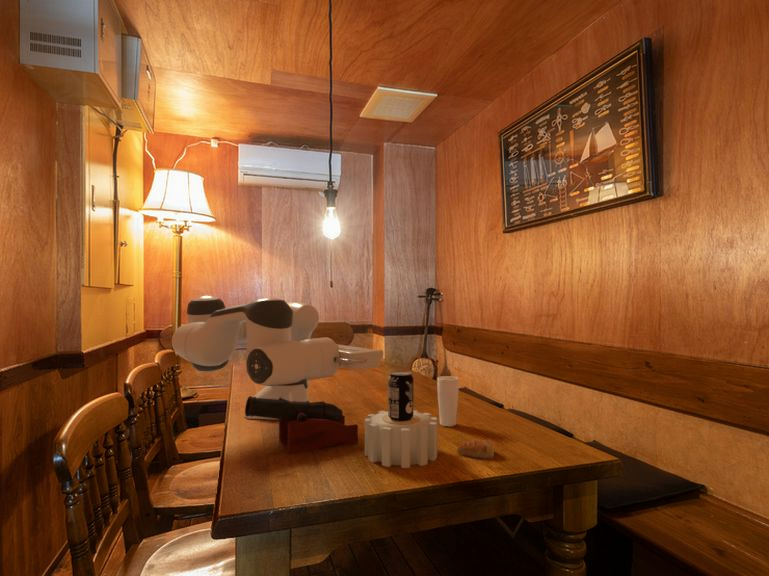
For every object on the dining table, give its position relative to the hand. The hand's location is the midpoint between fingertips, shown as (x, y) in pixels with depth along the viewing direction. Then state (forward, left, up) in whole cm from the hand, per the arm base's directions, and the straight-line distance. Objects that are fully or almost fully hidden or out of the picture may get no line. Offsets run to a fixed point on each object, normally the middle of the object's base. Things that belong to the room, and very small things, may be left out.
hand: (367, 351), depth 107 cm
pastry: (+29, +6, -28) cm, 41 cm away
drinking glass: (+27, +32, -28) cm, 50 cm away
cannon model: (-18, +16, -28) cm, 37 cm away
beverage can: (+9, +8, -19) cm, 22 cm away
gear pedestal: (+9, +8, -28) cm, 30 cm away
